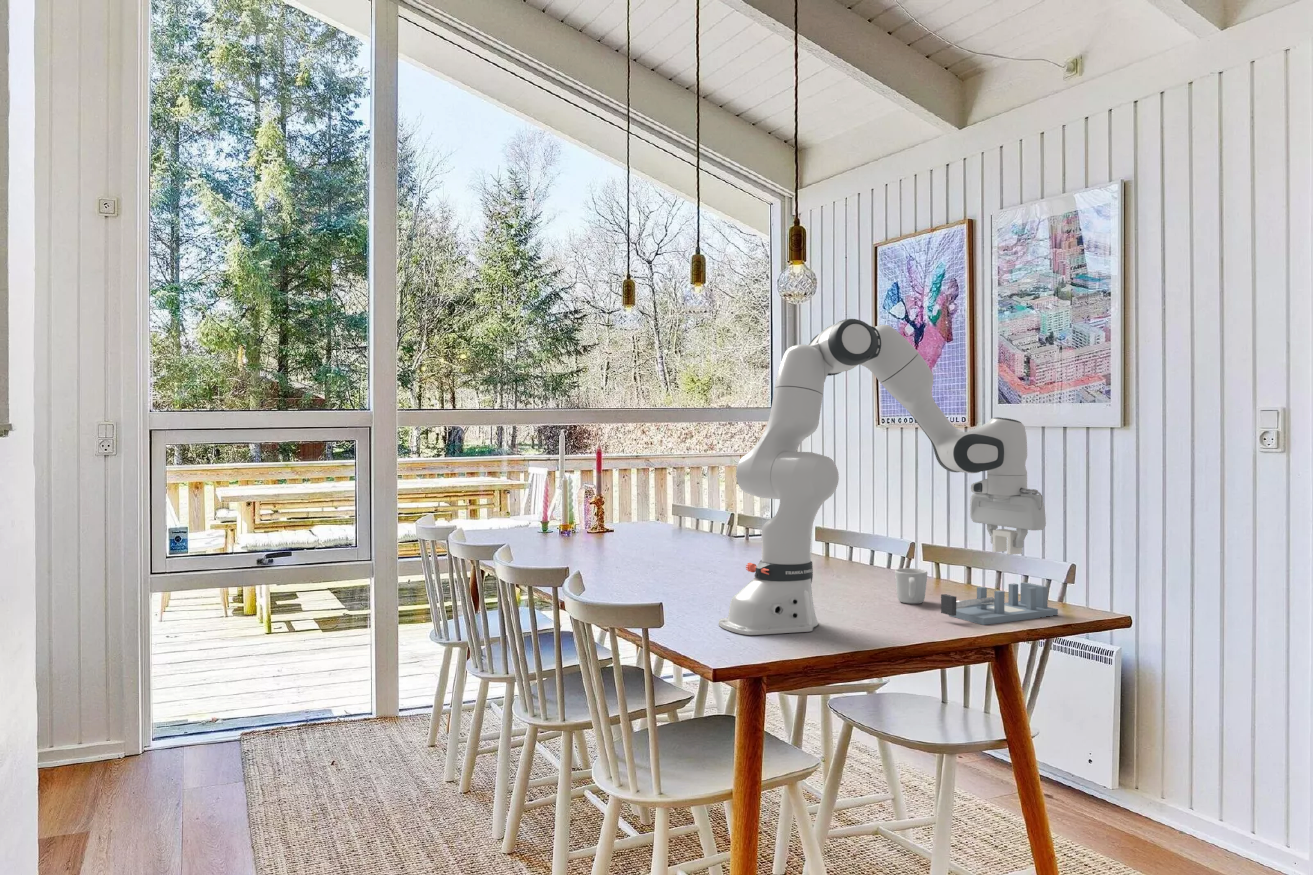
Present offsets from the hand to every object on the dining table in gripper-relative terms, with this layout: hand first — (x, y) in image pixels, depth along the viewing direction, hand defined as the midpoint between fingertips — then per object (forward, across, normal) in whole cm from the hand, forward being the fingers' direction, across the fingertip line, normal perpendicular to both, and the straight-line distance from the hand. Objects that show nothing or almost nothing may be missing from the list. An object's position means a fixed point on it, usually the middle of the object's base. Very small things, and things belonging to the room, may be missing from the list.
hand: (1006, 545), depth 222 cm
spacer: (+2, 0, 0) cm, 2 cm away
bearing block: (+16, 0, +1) cm, 16 cm away
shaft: (+14, 0, +12) cm, 19 cm away
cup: (+17, +21, +11) cm, 29 cm away
